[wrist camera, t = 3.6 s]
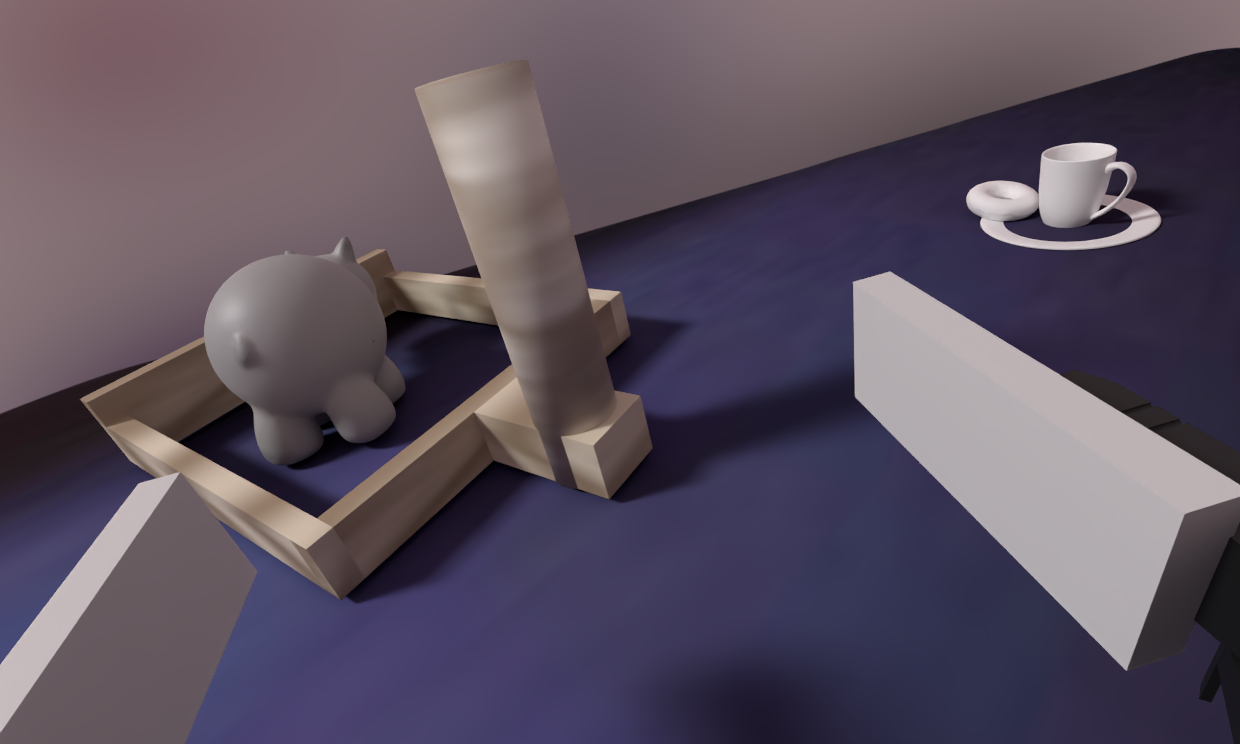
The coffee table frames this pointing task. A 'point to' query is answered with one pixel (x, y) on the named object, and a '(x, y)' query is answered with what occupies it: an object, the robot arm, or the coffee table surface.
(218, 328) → the chubby cartoon animal
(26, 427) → the coffee table surface
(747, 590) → the coffee table surface
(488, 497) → the coffee table surface
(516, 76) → the pull frame
